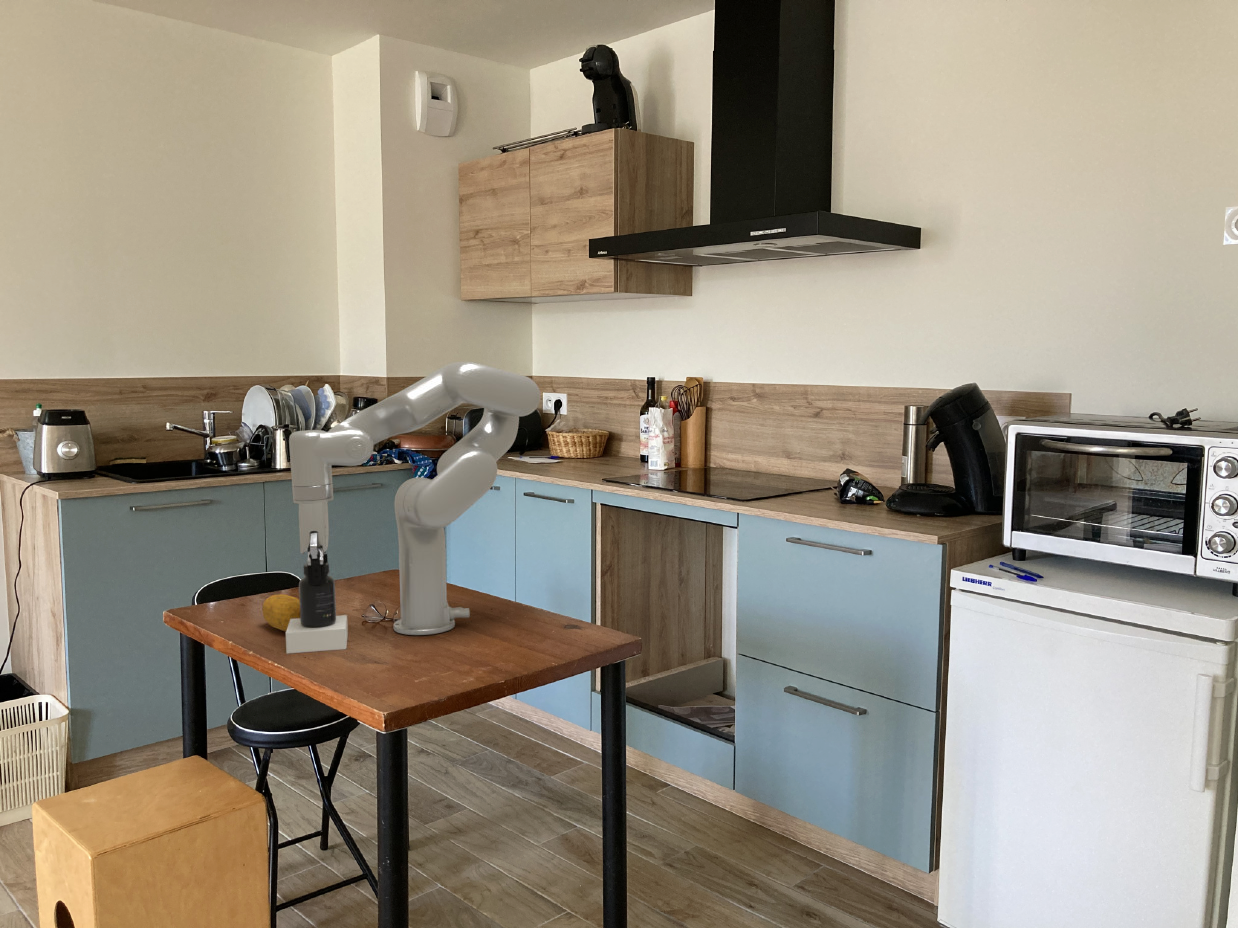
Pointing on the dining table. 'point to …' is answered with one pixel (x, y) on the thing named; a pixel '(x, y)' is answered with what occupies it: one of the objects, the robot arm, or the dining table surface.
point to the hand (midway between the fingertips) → (318, 579)
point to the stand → (316, 636)
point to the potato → (281, 610)
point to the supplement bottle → (317, 601)
